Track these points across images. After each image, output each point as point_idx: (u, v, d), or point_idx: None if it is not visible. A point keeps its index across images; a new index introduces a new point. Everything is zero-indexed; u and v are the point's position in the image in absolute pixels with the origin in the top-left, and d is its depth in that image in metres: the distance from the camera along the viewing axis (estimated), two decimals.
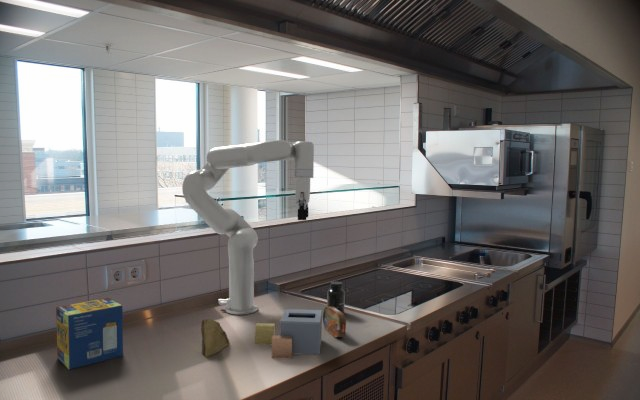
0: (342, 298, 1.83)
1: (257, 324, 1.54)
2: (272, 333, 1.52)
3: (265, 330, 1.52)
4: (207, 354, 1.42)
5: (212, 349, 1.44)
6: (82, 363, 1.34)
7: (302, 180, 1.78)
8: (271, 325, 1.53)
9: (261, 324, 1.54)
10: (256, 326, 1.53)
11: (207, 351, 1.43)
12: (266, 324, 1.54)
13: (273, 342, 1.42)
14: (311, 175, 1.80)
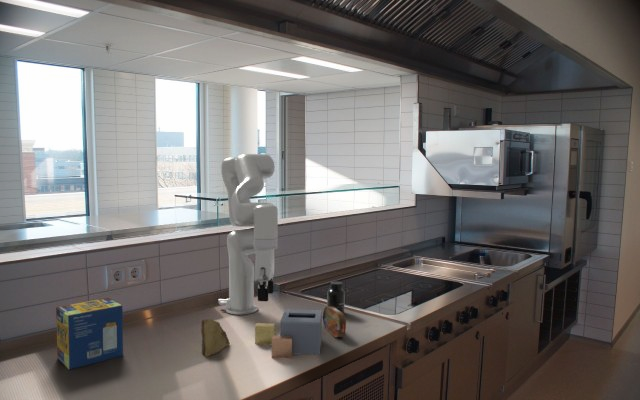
0: (342, 298, 1.83)
1: (257, 324, 1.54)
2: (272, 333, 1.52)
3: (265, 330, 1.52)
4: (207, 354, 1.42)
5: (212, 349, 1.44)
6: (82, 363, 1.34)
7: (263, 253, 1.47)
8: (271, 325, 1.53)
9: (261, 324, 1.54)
10: (256, 326, 1.53)
11: (207, 351, 1.43)
12: (266, 324, 1.54)
13: (273, 342, 1.42)
14: (274, 246, 1.49)
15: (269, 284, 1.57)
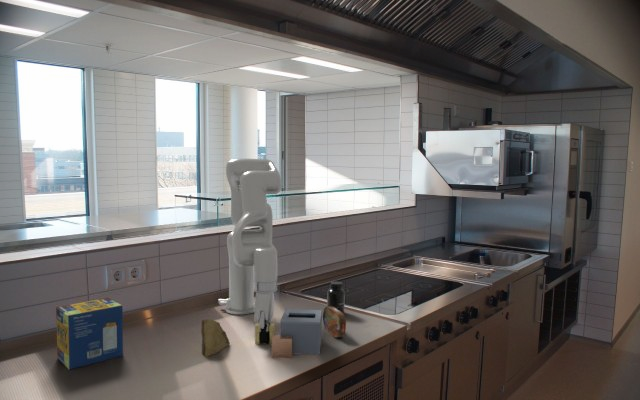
0: (342, 298, 1.83)
1: (257, 324, 1.54)
2: (272, 333, 1.52)
3: None
4: (207, 354, 1.42)
5: (212, 349, 1.44)
6: (82, 363, 1.34)
7: (263, 296, 1.48)
8: (271, 325, 1.53)
9: None
10: (256, 326, 1.52)
11: (207, 351, 1.43)
12: None
13: (273, 342, 1.42)
14: (274, 289, 1.51)
15: None
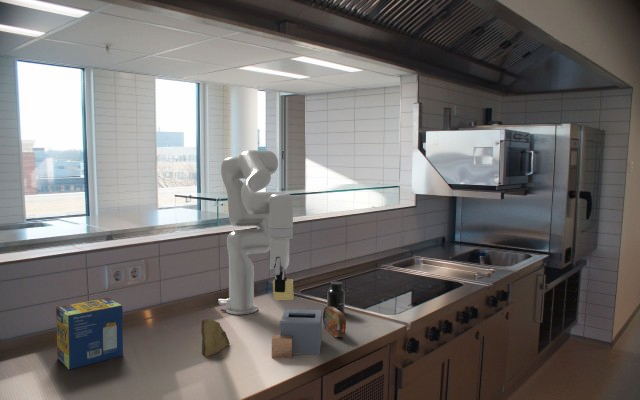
0: (342, 298, 1.83)
1: None
2: (290, 288, 1.50)
3: None
4: (207, 354, 1.42)
5: (212, 349, 1.44)
6: (82, 363, 1.34)
7: (278, 242, 1.46)
8: (289, 280, 1.50)
9: None
10: (274, 282, 1.50)
11: (207, 351, 1.43)
12: None
13: (273, 342, 1.42)
14: (289, 235, 1.48)
15: None
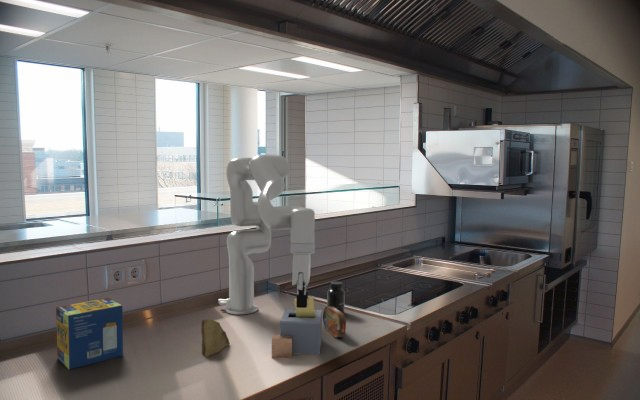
0: (342, 298, 1.83)
1: (296, 299, 1.50)
2: (312, 306, 1.49)
3: None
4: (207, 354, 1.42)
5: (212, 349, 1.44)
6: (82, 363, 1.34)
7: (301, 257, 1.45)
8: (310, 298, 1.49)
9: None
10: (295, 301, 1.49)
11: (207, 351, 1.43)
12: None
13: (273, 342, 1.42)
14: (312, 250, 1.47)
15: None
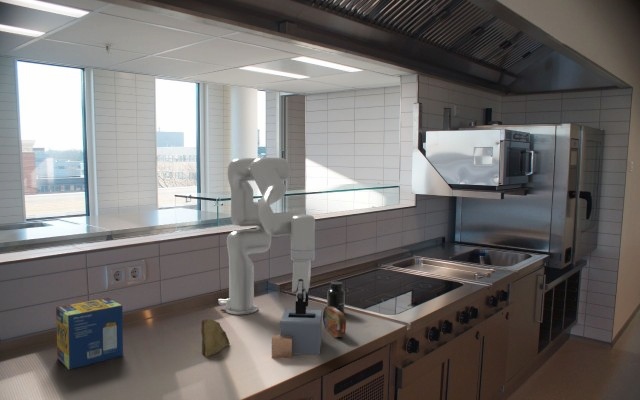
0: (342, 298, 1.83)
1: None
2: None
3: None
4: (207, 354, 1.42)
5: (212, 349, 1.44)
6: (82, 363, 1.34)
7: (301, 264, 1.45)
8: None
9: None
10: None
11: (207, 351, 1.43)
12: None
13: (273, 342, 1.42)
14: (312, 257, 1.47)
15: (304, 297, 1.54)
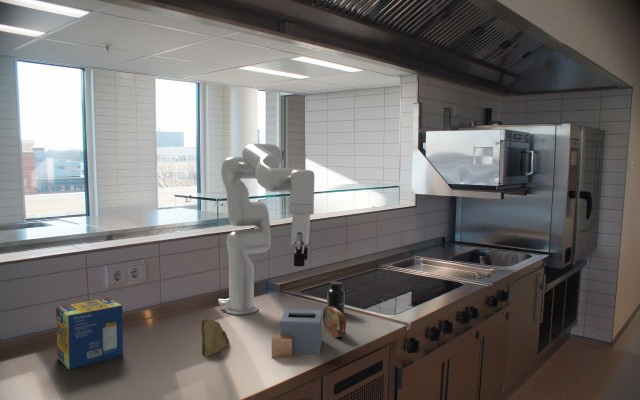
0: (342, 298, 1.83)
1: None
2: None
3: None
4: (207, 354, 1.42)
5: (212, 349, 1.44)
6: (82, 363, 1.34)
7: (300, 218, 1.46)
8: None
9: None
10: None
11: (207, 351, 1.43)
12: None
13: (273, 342, 1.42)
14: (311, 211, 1.48)
15: (303, 250, 1.56)
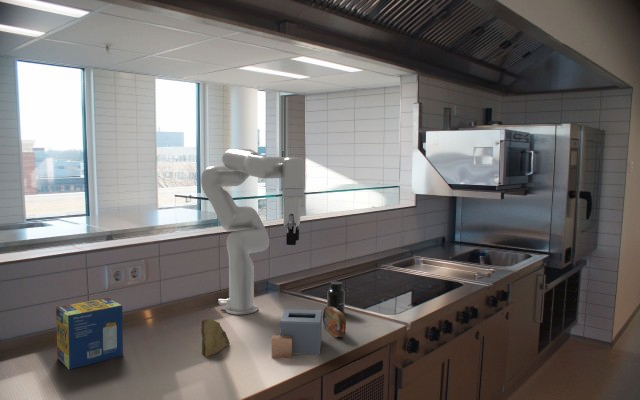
0: (342, 298, 1.83)
1: None
2: None
3: None
4: (207, 354, 1.42)
5: (212, 349, 1.44)
6: (82, 363, 1.34)
7: (292, 201, 1.61)
8: None
9: None
10: None
11: (207, 351, 1.43)
12: None
13: (273, 342, 1.42)
14: (301, 195, 1.63)
15: (295, 232, 1.70)
